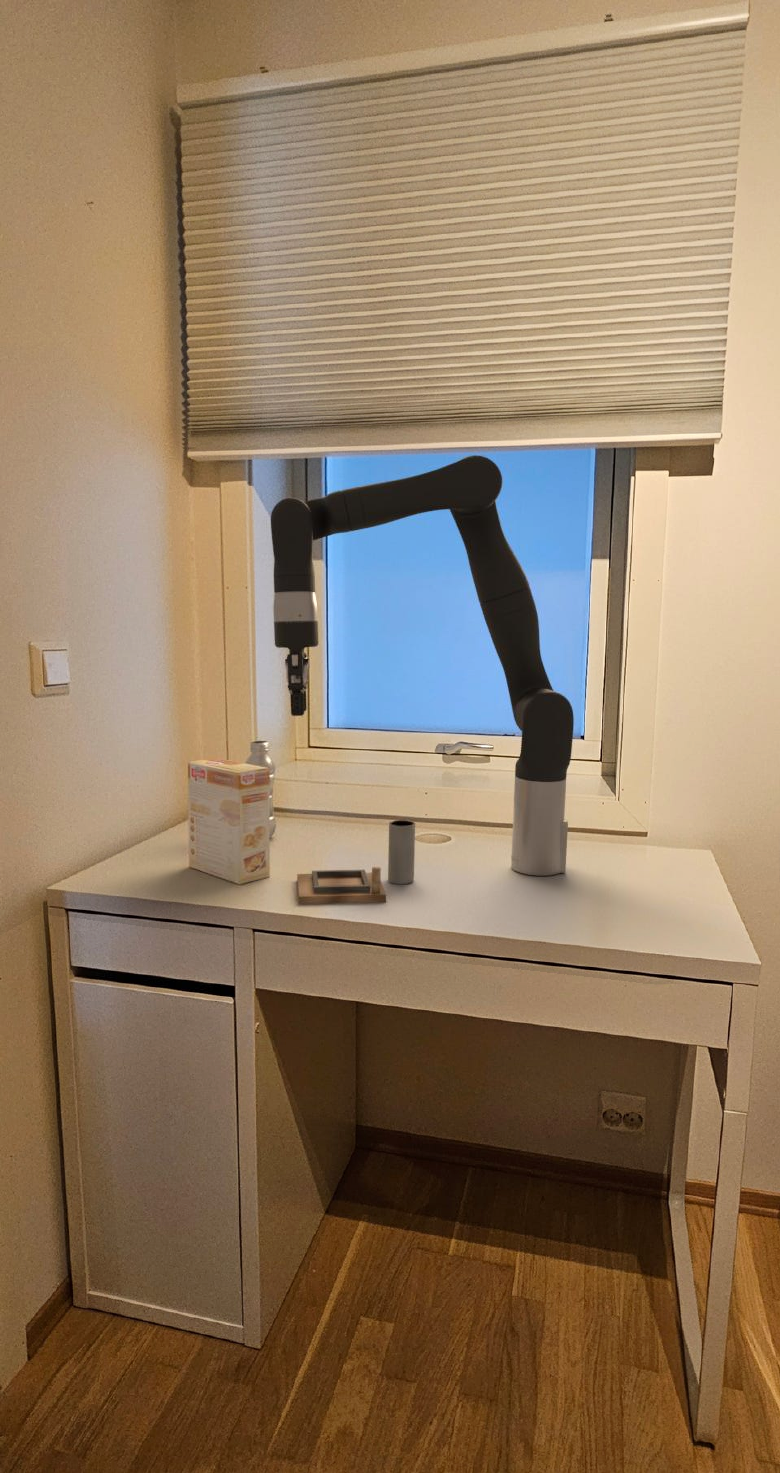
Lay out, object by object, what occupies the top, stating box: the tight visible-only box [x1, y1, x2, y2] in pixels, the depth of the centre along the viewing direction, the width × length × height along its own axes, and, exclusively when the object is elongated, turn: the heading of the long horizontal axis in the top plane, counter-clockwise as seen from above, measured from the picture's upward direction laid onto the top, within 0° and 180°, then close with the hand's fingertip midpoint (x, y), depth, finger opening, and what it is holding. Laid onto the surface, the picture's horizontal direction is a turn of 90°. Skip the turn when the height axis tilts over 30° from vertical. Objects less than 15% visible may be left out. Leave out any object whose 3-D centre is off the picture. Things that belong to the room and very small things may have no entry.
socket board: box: [296, 866, 387, 905], centre depth 141 cm, size 14×12×5 cm
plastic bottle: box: [244, 740, 277, 838], centre depth 173 cm, size 6×7×20 cm
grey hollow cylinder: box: [387, 819, 416, 885], centre depth 147 cm, size 4×4×10 cm
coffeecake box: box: [187, 757, 271, 885], centre depth 150 cm, size 15×7×20 cm, turn 48°
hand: (299, 713), depth 148 cm, fingers open, 8 cm apart
